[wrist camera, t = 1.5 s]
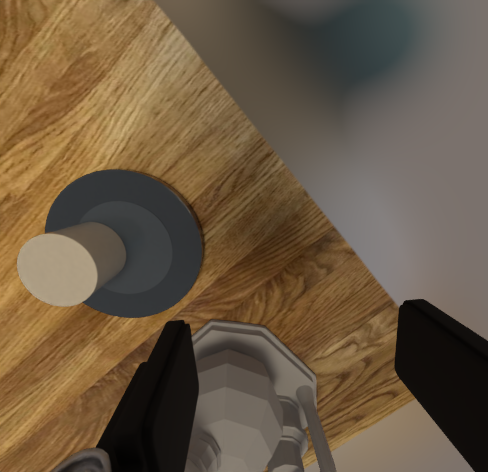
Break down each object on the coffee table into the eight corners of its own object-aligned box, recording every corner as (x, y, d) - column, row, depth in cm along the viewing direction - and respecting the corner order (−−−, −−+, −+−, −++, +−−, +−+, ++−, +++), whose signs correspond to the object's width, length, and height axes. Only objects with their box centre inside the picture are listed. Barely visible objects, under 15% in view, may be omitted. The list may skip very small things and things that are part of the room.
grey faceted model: (147, 374, 30) (57, 569, 15) (234, 297, 28) (228, 436, 13) (255, 456, 34) (268, 679, 19) (339, 394, 32) (430, 590, 17)
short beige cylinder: (55, 224, 24) (5, 237, 19) (119, 219, 24) (86, 230, 19) (71, 283, 25) (30, 310, 20) (131, 278, 25) (105, 303, 20)
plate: (37, 176, 24) (22, 176, 22) (193, 163, 24) (190, 162, 22) (77, 315, 28) (67, 324, 26) (212, 304, 28) (210, 312, 26)
